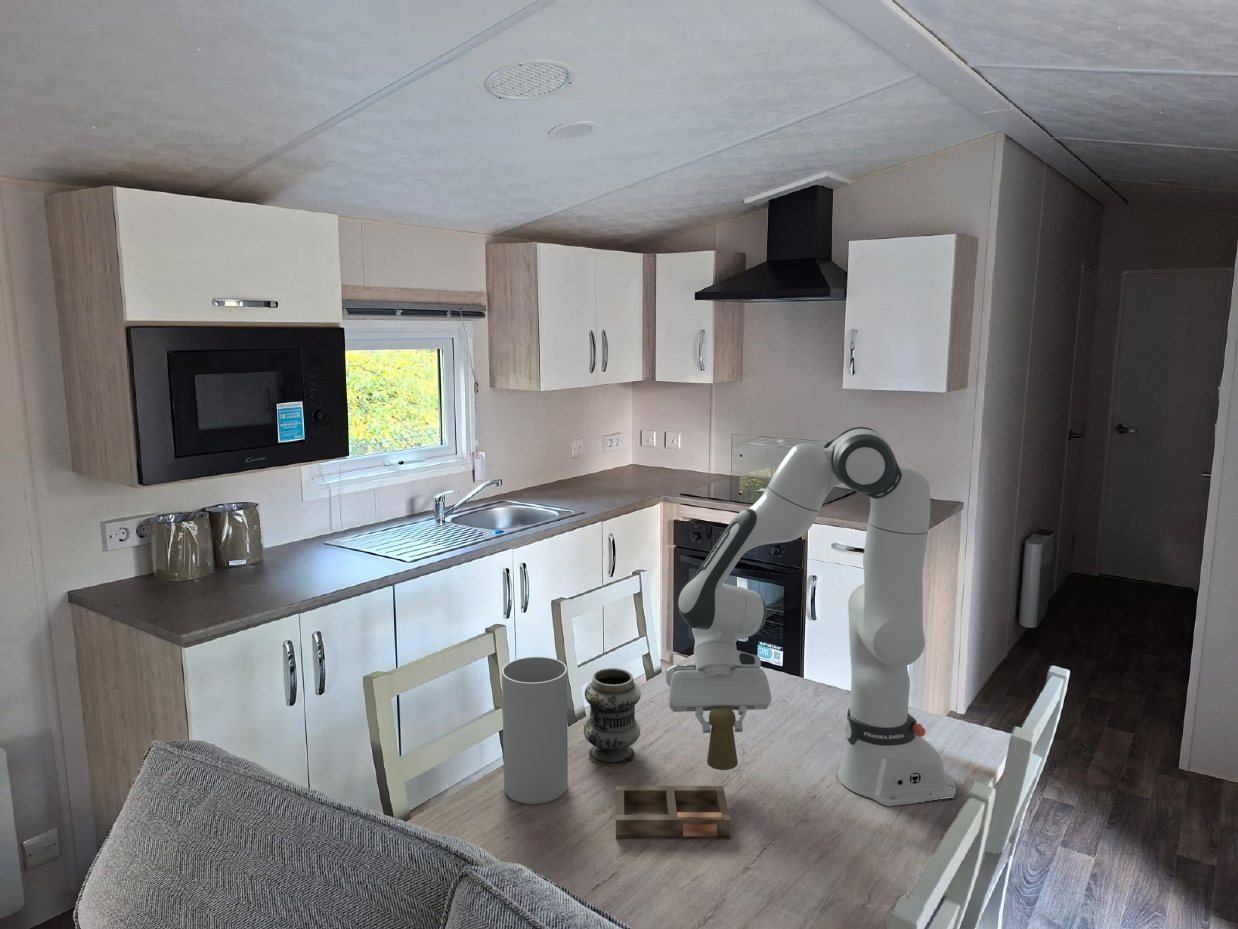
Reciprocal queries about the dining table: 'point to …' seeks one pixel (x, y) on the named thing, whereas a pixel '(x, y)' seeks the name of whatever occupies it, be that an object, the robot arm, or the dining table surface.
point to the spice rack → (672, 812)
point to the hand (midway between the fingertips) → (722, 731)
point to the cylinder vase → (535, 729)
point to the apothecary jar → (612, 717)
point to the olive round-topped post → (722, 739)
